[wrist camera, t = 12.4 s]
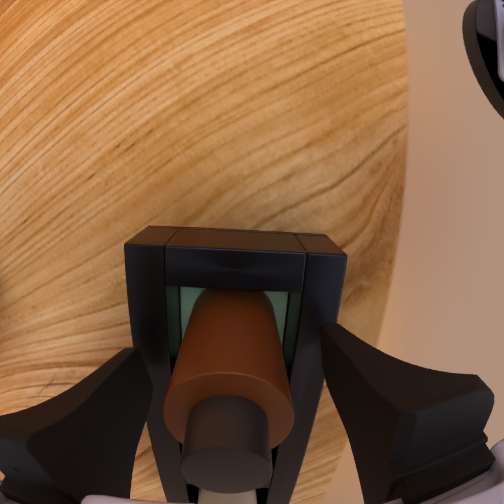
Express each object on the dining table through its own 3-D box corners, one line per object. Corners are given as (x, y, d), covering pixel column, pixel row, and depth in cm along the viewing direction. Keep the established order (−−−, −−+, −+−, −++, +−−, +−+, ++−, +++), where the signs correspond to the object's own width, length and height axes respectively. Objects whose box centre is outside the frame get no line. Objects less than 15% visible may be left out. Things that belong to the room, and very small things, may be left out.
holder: (326, 234, 15) (348, 254, 12) (278, 494, 21) (281, 525, 18) (148, 225, 15) (123, 243, 11) (178, 489, 21) (173, 520, 17)
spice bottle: (275, 278, 15) (312, 422, 6) (273, 350, 16) (296, 503, 7) (189, 279, 15) (131, 419, 6) (196, 351, 16) (165, 501, 7)
